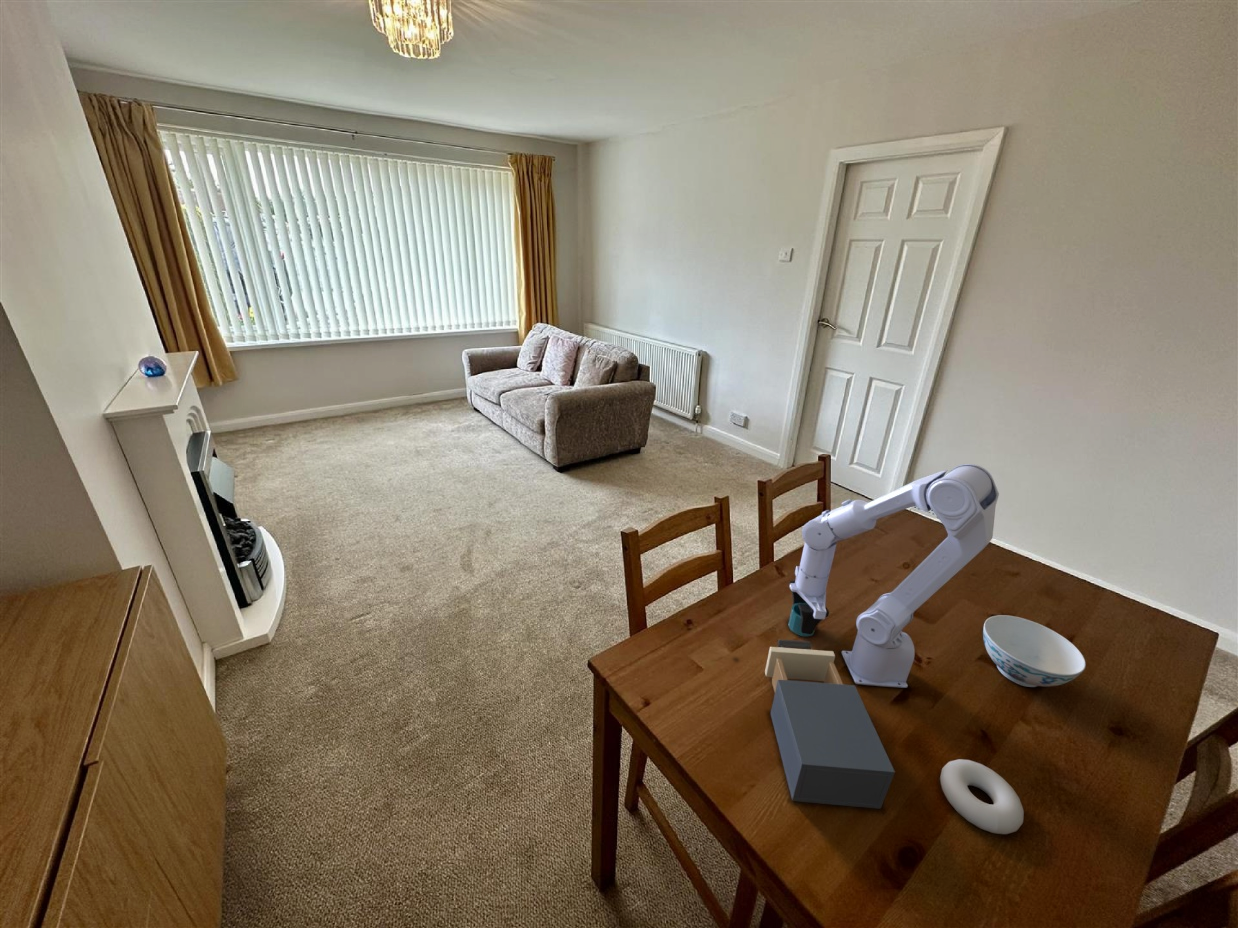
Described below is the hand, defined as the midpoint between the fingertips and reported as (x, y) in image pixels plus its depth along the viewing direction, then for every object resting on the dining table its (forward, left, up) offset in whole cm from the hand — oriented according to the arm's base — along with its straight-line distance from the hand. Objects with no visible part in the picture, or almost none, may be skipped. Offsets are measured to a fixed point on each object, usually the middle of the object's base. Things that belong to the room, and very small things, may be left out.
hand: (802, 622), depth 102 cm
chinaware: (-39, +9, -2) cm, 40 cm away
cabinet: (+5, +30, -1) cm, 30 cm away
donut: (-16, +35, -2) cm, 38 cm away
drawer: (+5, +19, -1) cm, 19 cm away
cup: (0, 0, -1) cm, 1 cm away
